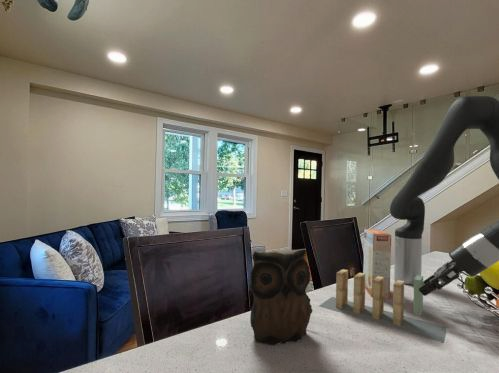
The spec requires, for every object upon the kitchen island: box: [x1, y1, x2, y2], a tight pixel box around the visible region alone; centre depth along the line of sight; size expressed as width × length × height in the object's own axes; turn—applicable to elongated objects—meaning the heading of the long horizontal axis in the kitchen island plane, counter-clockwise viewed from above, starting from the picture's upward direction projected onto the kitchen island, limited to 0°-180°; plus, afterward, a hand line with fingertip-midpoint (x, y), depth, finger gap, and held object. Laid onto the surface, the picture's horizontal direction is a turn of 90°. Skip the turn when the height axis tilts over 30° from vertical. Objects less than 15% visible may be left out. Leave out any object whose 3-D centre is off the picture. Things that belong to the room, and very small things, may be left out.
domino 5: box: [413, 275, 424, 316], centre depth 80 cm, size 5×2×10 cm, turn 141°
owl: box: [249, 248, 313, 346], centre depth 65 cm, size 13×13×20 cm
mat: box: [318, 296, 448, 343], centre depth 76 cm, size 10×30×1 cm, turn 51°
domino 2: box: [352, 272, 366, 314], centre depth 79 cm, size 5×2×10 cm, turn 141°
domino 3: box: [371, 276, 385, 320], centre depth 76 cm, size 5×2×10 cm, turn 141°
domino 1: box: [335, 268, 349, 309], centre depth 82 cm, size 5×2×10 cm, turn 141°
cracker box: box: [362, 228, 392, 300], centre depth 96 cm, size 14×6×21 cm, turn 168°
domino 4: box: [392, 280, 405, 326], centre depth 73 cm, size 5×2×10 cm, turn 141°
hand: (423, 288), depth 79 cm, fingers open, 8 cm apart
